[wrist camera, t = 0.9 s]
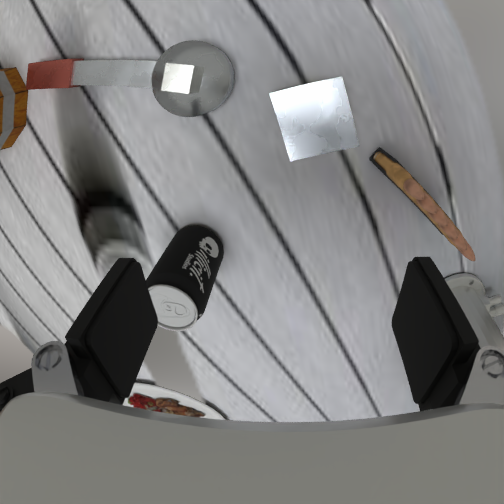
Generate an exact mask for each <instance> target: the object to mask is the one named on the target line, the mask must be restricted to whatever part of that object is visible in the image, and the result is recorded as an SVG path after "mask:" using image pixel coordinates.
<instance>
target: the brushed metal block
mask: <svg viewBox="0 0 504 504" xmlns="http://www.w3.org/2000/svg"><path fill="white" fill-rule="evenodd" d="M269 95H270V98H271V101H272V104H273V107H274V110H275V113H276V116H277V119H278V123H279V126H280V129H281V132H282V136H283V139H284V142H285V146H286V149H287V152H288V156H289V159H290V162H291V161H295V160H299V159H303V158H308V157H312V156H316V155H320V154H325V153H329V152H334V151H339V150H343V149H348V148H353V147H358V146H359V142H358V137H357V133H356V129H355V124H354V120H353V116H352V112H351V108H350V104H349V100H348V97H347V93H346V89H345V86H344V82H343V79H342V77H337V78H331V79H326V80H321V81H316V82H312V83H307V84H303V85H299V86H295V87H290V88H286V89H283V90H279V91H275V92H272V93H269Z"/></svg>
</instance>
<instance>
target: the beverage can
mask: <svg viewBox="0 0 504 504" xmlns="http://www.w3.org/2000/svg"><path fill="white" fill-rule="evenodd" d="M222 259H223V246H222V243H221V241H220V240H219V238H218V237H217V236H216V235H215V234H214V233H213V232H212V231H210V230H208V229H206V228H204V227H200V226H188V227H185V228H183V229H181V230H180V231H178V232H177V233H176V235H175V236H174V238H173V239H172V241H171V242H170V244H169V245H168V247H167V248H166V250H165V251H164V253H163V255H162V256H161V258H160V259H159V261H158V262H157V264H156V265H155V267H154V269H153V270H152V272H151V273H150V275H149V276H148V278H147V280H146V284H147V287H148V290H149V293H150V296H151V299H152V302H153V305H154V308H155V311H156V314H157V317H158V326H160V327H162V328H164V329H167V330H172V331H184V330H187V329H189V328H191V327H192V326H193V325H194V324H195V323H196V321H197V320H198V319H199V318H200V317H201V316H202V315H203V313H204V311H205V308H206V305H207V302H208V299H209V296H210V293H211V291H212V288H213V285H214V282H215V279H216V276H217V273H218V270H219V267H220V264H221V261H222Z"/></svg>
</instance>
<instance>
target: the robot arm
mask: <svg viewBox="0 0 504 504" xmlns="http://www.w3.org/2000/svg"><path fill="white" fill-rule="evenodd" d="M498 303H499V304H498ZM492 305H493V306H492ZM491 306H492V307H491ZM502 314H504V306H503V304H502V303H501V296H500V295H499V294H498V295H495V296H492V297H491V298H488V297H486V296H485V288H484V286H483V284H482V282H481V281H480V280H479V279H478V278H477V277H476V276H474V275H472V274H467V273H462V274H456V275H452V276H450V277H447V278H445V279H444V278H443V276H442V274H441V273H440V271H439V270H438V268H437V267H436V265H435V264H434V262H433V261H432V259H431V258H430V257H414V258H413V260H412V261H410V262H409V263H408V265H407V269H406V273H405V277H404V281H403V284H402V288H401V291H400V295H399V298H398V301H397V305H396V308H395V311H394V314H393V317H392V328H393V331H394V335H395V338H396V341H397V344H398V347H399V350H400V354H401V357H402V360H403V364H404V367H405V370H406V374H407V377H408V381H409V385H410V388H411V392H412V396H413V400H414V402H415V403H416V404H417V403H418V404H419V408H420V412H413V413H407V414H399V415H392V416H384V417H376V418H367V419H356V420H343V421H326V422H250V421H233V420H220V419H209V418H200V417H191V416H183V415H176V414H169V413H162V412H156V411H150V410H145V409H140V408H134V407H129V406H124V405H123V403H124V400H125V398H128V397H129V396H130V393H131V391H132V388H133V386H134V383H135V380H136V378H137V375H138V373H139V370H140V367H141V365H142V362H143V360H144V357H145V355H146V352H147V350H148V348H149V345H150V343H151V340H152V338H153V335H154V333H155V331H156V328H157V325H158V317H157V314H156V311H155V308H154V305H153V302H152V299H151V296H150V293H149V290H148V287H147V284H146V280H145V277H144V274H143V271H142V267H141V264H140V263H139V262H137V261H136V260H135V259H134V258H119V259H118V260H117V261H116V262H115V264H114V265H113V266H112V268H111V269H110V271H109V272H108V273H107V275H106V276H105V278H104V279H103V280H102V282H101V283H100V285H99V286H98V287H97V289H96V290H95V292H94V293H93V295H92V296H91V298H90V299H89V300H88V302H87V303H86V305H85V306H84V308H83V309H82V311H81V312H80V314H79V315H78V317H77V319H76V320H75V322H74V323H73V325H72V326H71V328H70V329H69V331H68V333H67V334H66V336H65V338H66V340H67V341H66V343H65V345H64V344H63V343H62V342H59V341H51V342H48V343H46V344H44V345H42V346H41V347H40V348H39V349H37V351H36V352H35V353H34V355H33V358H32V363H31V366H32V368H30V369H28V370H26V371H24V372H22V373H20V374H18V375H16V376H14V377H12V378H10V379H8V380H6V381H4V382H2V383H0V504H504V337H503V335H502V334H501V332H500V330H499V328H498V327H497V325H496V323H495V321H494V320H493V317H497V316H499V315H502ZM430 409H431V410H430ZM425 410H426V411H425Z"/></svg>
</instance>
